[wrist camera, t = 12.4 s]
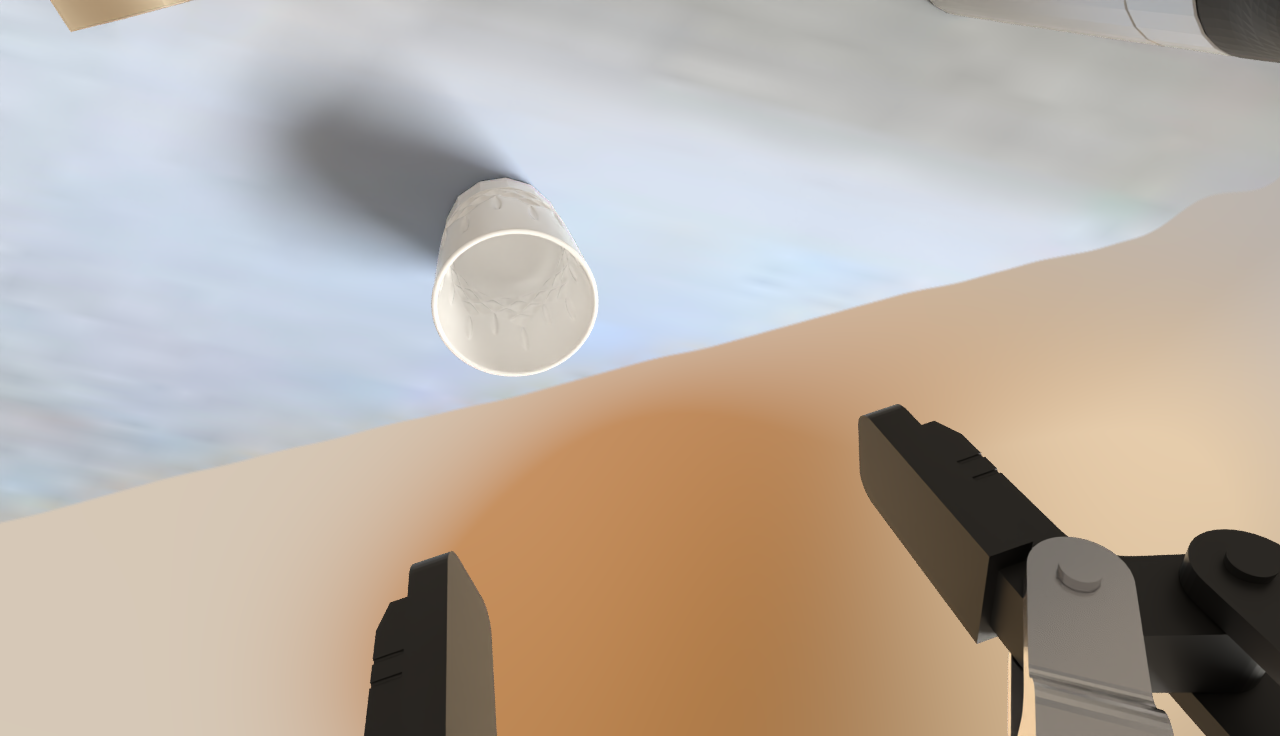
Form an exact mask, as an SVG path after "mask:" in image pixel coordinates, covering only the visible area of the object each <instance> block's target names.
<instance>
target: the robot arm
mask: <svg viewBox="0 0 1280 736" xmlns="http://www.w3.org/2000/svg"><path fill="white" fill-rule="evenodd" d="M930 1H931V2H932V3H933V4H934V5H935V6H936V7H938V8H939V9H941V10H943V11H945V12H946V13H950V14H954V15H959V16H964V17H971V18H978V19H985V20H991V21H997V22H1002V23H1009V24H1015V25H1022V26H1029V27H1036V28H1042V29H1049V30H1056V31H1063V32H1069V33H1076V34H1083V35H1089V36H1096V37H1103V38H1110V39H1116V40H1123V41H1130V42H1136V43H1143V44H1150V45H1157V46H1165V47H1173V48H1180V49H1186V50H1193V51H1200V52H1206V53H1213V54H1220V55H1227V56H1235V57H1239V58H1246V59H1253V60H1260V61H1269V62H1277V63H1280V0H930ZM858 430H859V461H860V475H861V480H862V483H863V486H864V489H865V491H866V493H867V495H868V497H869V498H870V500H871V502H872V503H873V505H874V506H875V507H876V509H877V510H878V511H879V513H880V514H881V515H882V517H883V518H884V519H885V521H886V522H887V524H888V525H889V526H890V528H891V529H892V530H893V532H894V533H895V534H896V536H897V537H898V538H899V540H900V541H901V542H902V543H903V545H904V546H905V548H906V549H907V550H908V552H909V553H910V554H911V556H912V557H913V558H914V560H915V561H916V563H917V564H918V565H919V567H920V568H921V569H922V571H923V572H924V573H925V575H926V576H927V577H928V579H929V580H930V581H931V583H932V584H933V585H934V587H935V588H936V589H937V591H938V592H939V594H940V595H941V596H942V598H943V599H944V600H945V602H946V603H947V604H948V606H949V607H950V608H951V610H952V611H953V612H954V614H955V615H956V616H957V618H958V619H959V620H960V622H961V623H962V624H963V626H964V627H965V629H966V630H967V631H968V632H969V634H970V635H971V637H972V638H973V639H974V641H975V642H976V643H977V644H978V643H981V642H983V641H986V640H989V639H992V638H994V637H997V636H998V637H999V639H1000V640H1001V641H1002V642H1003V644H1004V645H1005V646H1006V648H1007V649H1008V650H1009V656H1008V734H1007V736H1174V734H1173V730H1172V726H1171V723H1170V720H1169V718H1168V716H1167V714H1166V713H1165V711H1163V710H1160V709H1157V708H1156V706H1155V704H1154V700H1153V696H1152V693H1169V694H1170V695H1171V696H1172V697H1173V698H1174V700H1175V701H1176V702H1177V703H1178V704H1179V705H1180V706H1181V708H1182V709H1183V710H1184V711H1185V712H1186V713H1187V714H1188V716H1189V717H1190V718H1191V719H1192V720H1193V721H1194V723H1195V724H1196V725H1197V726H1198V727H1199V728H1200V729H1201V731H1202V732H1203V733H1204V734H1205V735H1206V736H1280V545H1279V544H1277V543H1275V542H1273V541H1271V540H1269V539H1267V538H1264V537H1261V536H1259V535H1256V534H1252V533H1248V532H1244V531H1237V530H1227V529H1223V530H1212V531H1207V532H1205V533H1202V534H1200V535H1198V536H1197V537H1195V538H1194V539H1193V541H1192V542H1191V543H1190V545H1189V548H1188V550H1187V552H1186V554H1181V555H1157V556H1156V555H1154V556H1118V555H1115V554H1114V553H1113V552H1112V551H1110V550H1108V549H1107V548H1105V547H1103V546H1101V545H1099V544H1097V543H1094V542H1091V541H1088V540H1085V539H1080V538H1074V537H1068V536H1067V535H1065V534H1064V533H1063V532H1062V531H1061V530H1060V529H1058V528H1057V527H1056V526H1055V525H1054V524H1053V523H1052V522H1051V521H1050V520H1049V519H1048V518H1047V517H1046V516H1045V515H1044V514H1043V513H1042V512H1041V511H1040V510H1039V509H1038V508H1037V507H1036V506H1035V505H1034V504H1033V503H1032V502H1031V501H1030V500H1029V499H1028V498H1027V497H1026V496H1025V495H1024V494H1023V493H1021V492H1020V491H1019V490H1018V489H1017V488H1016V487H1015V486H1014V485H1013V484H1012V483H1011V482H1010V481H1009V480H1008V479H1007V478H1006V477H1005V476H1004V475H1003V474H1002V473H998V471H997V468H996V467H995V466H994V465H993V464H992V463H991V462H990V461H989V460H988V459H987V458H986V457H982V456H981V453H980V452H979V451H978V450H977V449H976V448H975V447H974V446H973V445H972V444H971V443H970V442H969V441H968V440H967V439H966V438H965V437H964V436H963V435H962V434H960V433H958V432H956V431H954V430H952V429H950V428H948V427H946V426H944V425H942V424H940V423H938V422H936V421H932V422H929V423H927V424H924V425H921V424H920V423H919V422H918V421H917V420H916V419H915V418H914V417H913V416H912V415H911V414H910V413H909V412H908V411H907V410H906V409H905V408H904V407H903V406H901V405H899V404H896V405H893V406H890V407H887V408H884V409H881V410H878V411H875V412H872V413H869V414H866V415H863V416H861V417H860V418H859V423H858ZM491 638H492V637H491V627H490V621H489V616H488V612H487V609H486V606H485V603H484V601H483V599H482V597H481V595H480V594H479V592H478V590H477V589H476V587H475V585H474V583H473V582H472V580H471V578H470V577H469V575H468V573H467V572H466V570H465V568H464V567H463V565H462V563H461V561H460V560H459V558H458V556H457V555H456V554H455V553H454V552H453V551H451V552H448V553H445V554H442V555H439V556H436V557H433V558H430V559H427V560H424V561H421V562H418V563H415V564H413V565H412V566H411V568H410V572H409V585H408V597H405V598H402V599H400V600H397V601H393V602H391V603H390V604H389V606H388V608H387V610H386V612H385V614H384V616H383V618H382V620H381V622H380V624H379V626H378V628H377V630H376V636H375V645H374V654H373V661H374V665H372V672H371V680H370V683H371V689H369V697H368V707H367V715H366V724H365V733H364V736H497V732H496V715H495V694H494V675H493V657H492V639H491Z"/></svg>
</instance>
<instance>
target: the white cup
mask: <svg viewBox="0 0 1280 736" xmlns="http://www.w3.org/2000/svg"><path fill="white" fill-rule="evenodd" d="M431 308H432V316H433V320H434V324H435V327H436V329H437V332H438V334H439V336H440V337H441V339H442V341H443V342H444V343H445V345H446V346H447V347H448V348H449V350H450V351H451V352H452V353H453V354H454V355H456V356H457V357H458V358H459V359H461V360H462V361H463V362H465V363H466V364H468V365H470V366H472V367H474V368H476V369H478V370H481V371H483V372H487V373H490V374H494V375H500V376H526V375H532V374H536V373H540V372H543V371H546V370H548V369H551V368H553V367H555V366H557V365H559V364H560V363H562V362H564V361H565V360H567V359H568V358H569V357H570V356H572V355H573V354H574V353H575V352H576V351H577V350H578V349H579V348H580V347H581V346H582V344H583V343H584V342H585V340H586V339H587V337H588V336H589V334H590V332H591V330H592V328H593V325H594V323H595V320H596V316H597V310H598V292H597V286H596V282H595V279H594V277H593V274H592V272H591V270H590V268H589V266H588V265H587V263H586V261H585V259H584V257H583V255H582V254H581V252H580V250H579V248H578V246H577V244H576V242H575V240H574V239H573V237H572V235H571V233H570V232H569V230H568V229H567V227H566V225H565V224H564V222H563V220H562V219H561V218H560V216H559V215H558V214H557V212H556V211H555V209H554V207H553V205H552V204H551V202H550V201H549V200H548V199H547V198H545V197H544V196H543V195H542V194H541V193H540V192H539V191H538V190H536V189H535V188H534V187H533V186H532V185H530V184H526V183H523V182H520V181H516V180H513V179H509V178H499V179H493V180H486V181H480V182H478V183H477V184H475V185H474V186H472V187H471V188H470V189H468V190H467V191H465V192H464V193H462V194H461V195H459V196H458V198H457V200H456V202H455V204H454V205H453V207H452V209H451V211H450V213H449V215H448V217H447V219H446V226H445V229H444V232H443V236H442V240H441V245H440V249H439V254H438V260H437V266H436V273H435V280H434V286H433V292H432V300H431Z"/></svg>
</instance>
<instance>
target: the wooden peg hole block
mask: <svg viewBox="0 0 1280 736" xmlns="http://www.w3.org/2000/svg"><path fill="white" fill-rule="evenodd" d="M50 1H51V2H52V4H53V5H54V7H55V8H56V10H57V11H58V13H59V15H60V16H61V18H62V19H63V21H64V22H65V24H66V25H67V27H68V28H69V30H70V31H71V32H72V31H76V30H80V29H85V28H89V27H93V26H97V25H101V24H105V23H109V22H114V21H118V20H122V19H126V18H129V17H133V16H137V15H140V14H144V13H148V12H151V11H155V10H159V9H162V8H166V7H170V6H174V5H177V4H181V3H185V2H188V1H192V0H50Z"/></svg>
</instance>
